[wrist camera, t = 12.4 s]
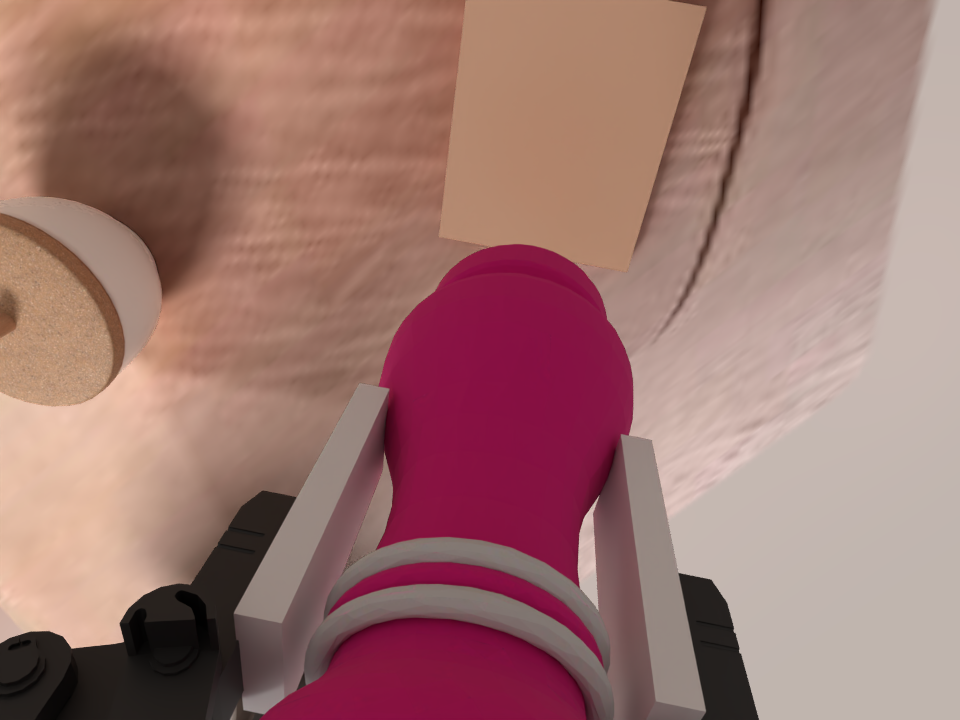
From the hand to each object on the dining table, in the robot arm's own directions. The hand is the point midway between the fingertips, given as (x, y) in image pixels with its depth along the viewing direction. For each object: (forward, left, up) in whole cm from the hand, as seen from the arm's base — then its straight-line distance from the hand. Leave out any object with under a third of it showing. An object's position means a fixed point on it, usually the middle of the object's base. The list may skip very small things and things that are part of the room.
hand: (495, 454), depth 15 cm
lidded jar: (-8, +25, -20) cm, 33 cm away
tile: (-2, 0, -19) cm, 19 cm away
